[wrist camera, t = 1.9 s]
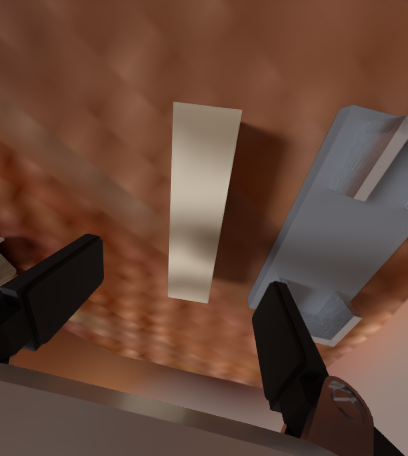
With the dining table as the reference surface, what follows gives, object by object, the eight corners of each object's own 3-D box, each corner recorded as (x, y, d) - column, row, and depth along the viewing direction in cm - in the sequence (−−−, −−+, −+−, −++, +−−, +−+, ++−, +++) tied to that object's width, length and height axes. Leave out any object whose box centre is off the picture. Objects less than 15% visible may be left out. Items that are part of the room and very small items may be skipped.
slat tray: (340, 108, 13) (353, 104, 12) (465, 141, 13) (492, 141, 12) (247, 297, 23) (249, 307, 21) (321, 316, 23) (327, 326, 21)
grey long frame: (366, 121, 12) (406, 115, 9) (464, 147, 12) (532, 148, 10) (262, 306, 21) (268, 330, 18) (319, 320, 21) (333, 346, 18)
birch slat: (188, 114, 15) (173, 101, 10) (236, 120, 14) (242, 110, 10) (179, 265, 22) (167, 296, 17) (210, 270, 22) (207, 303, 17)
